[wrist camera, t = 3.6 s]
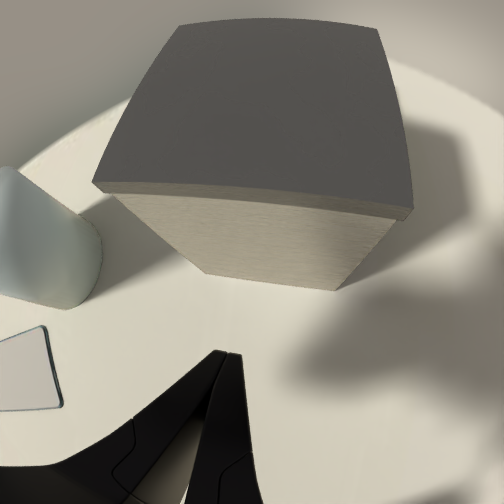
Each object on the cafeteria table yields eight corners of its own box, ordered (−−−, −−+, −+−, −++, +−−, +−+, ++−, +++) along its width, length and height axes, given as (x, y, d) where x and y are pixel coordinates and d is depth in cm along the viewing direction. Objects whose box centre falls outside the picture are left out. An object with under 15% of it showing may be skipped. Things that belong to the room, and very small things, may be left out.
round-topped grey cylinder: (89, 320, 18) (-8, 299, 10) (31, 298, 19) (-49, 272, 11) (113, 222, 20) (36, 160, 12) (53, 216, 21) (-15, 170, 13)
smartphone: (64, 407, 16) (-13, 411, 16) (68, 406, 17) (-10, 411, 17) (44, 323, 18) (-26, 350, 18) (49, 324, 19) (-22, 351, 19)
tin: (335, 293, 17) (413, 209, 6) (203, 275, 18) (91, 182, 7) (343, 175, 19) (376, 29, 8) (228, 164, 20) (178, 25, 9)
